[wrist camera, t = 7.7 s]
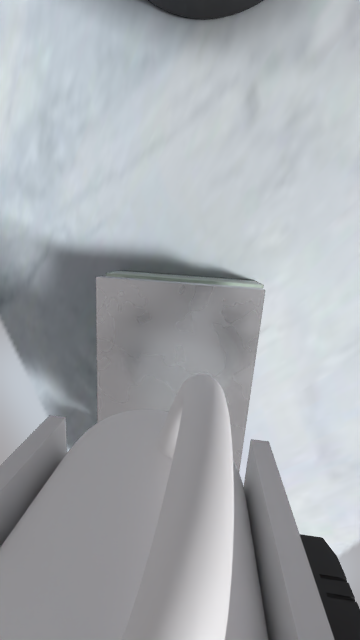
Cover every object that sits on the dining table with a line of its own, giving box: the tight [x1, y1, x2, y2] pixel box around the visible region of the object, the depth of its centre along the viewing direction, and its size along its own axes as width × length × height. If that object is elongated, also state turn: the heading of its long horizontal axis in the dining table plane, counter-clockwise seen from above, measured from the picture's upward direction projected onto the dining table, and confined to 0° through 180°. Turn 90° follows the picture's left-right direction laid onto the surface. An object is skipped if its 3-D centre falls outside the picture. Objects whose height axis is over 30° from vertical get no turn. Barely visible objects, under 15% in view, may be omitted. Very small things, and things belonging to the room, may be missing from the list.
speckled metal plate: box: [96, 276, 265, 471], centre depth 19 cm, size 14×10×3 cm
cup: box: [0, 374, 269, 640], centre depth 7 cm, size 8×12×10 cm
